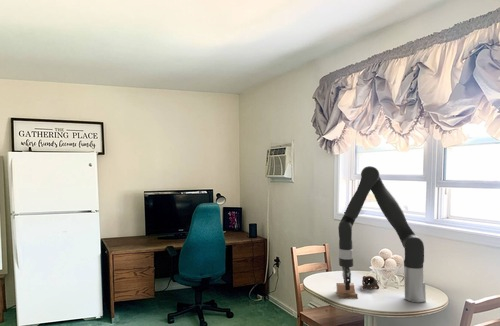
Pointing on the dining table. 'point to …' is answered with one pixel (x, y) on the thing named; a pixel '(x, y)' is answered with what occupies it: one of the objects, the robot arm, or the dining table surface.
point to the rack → (348, 295)
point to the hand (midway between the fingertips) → (346, 288)
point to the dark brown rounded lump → (369, 282)
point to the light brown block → (342, 288)
